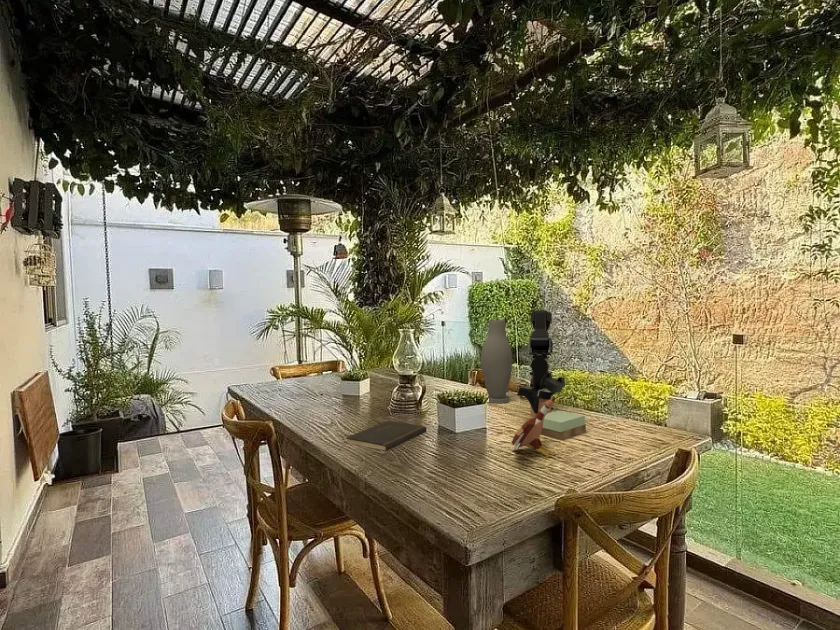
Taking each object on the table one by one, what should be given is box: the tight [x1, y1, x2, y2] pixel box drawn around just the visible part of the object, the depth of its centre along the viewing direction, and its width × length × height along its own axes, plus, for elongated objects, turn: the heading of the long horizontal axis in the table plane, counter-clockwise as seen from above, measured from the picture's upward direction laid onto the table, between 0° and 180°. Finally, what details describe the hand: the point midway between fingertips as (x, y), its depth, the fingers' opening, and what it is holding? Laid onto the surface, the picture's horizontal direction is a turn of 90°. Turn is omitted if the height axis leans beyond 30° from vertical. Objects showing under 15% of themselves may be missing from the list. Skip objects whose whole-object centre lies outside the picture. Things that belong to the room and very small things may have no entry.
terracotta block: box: [530, 398, 552, 418], centre depth 169 cm, size 5×5×6 cm
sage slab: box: [543, 409, 586, 432], centre depth 153 cm, size 13×10×3 cm
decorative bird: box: [511, 395, 557, 458], centre depth 133 cm, size 28×18×15 cm, turn 151°
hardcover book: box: [345, 420, 427, 452], centre depth 153 cm, size 16×23×2 cm
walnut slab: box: [540, 423, 587, 441], centre depth 153 cm, size 13×10×3 cm
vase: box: [480, 319, 513, 404], centre depth 201 cm, size 13×13×35 cm
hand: (540, 412), depth 169 cm, fingers closed on terracotta block, 5 cm apart
